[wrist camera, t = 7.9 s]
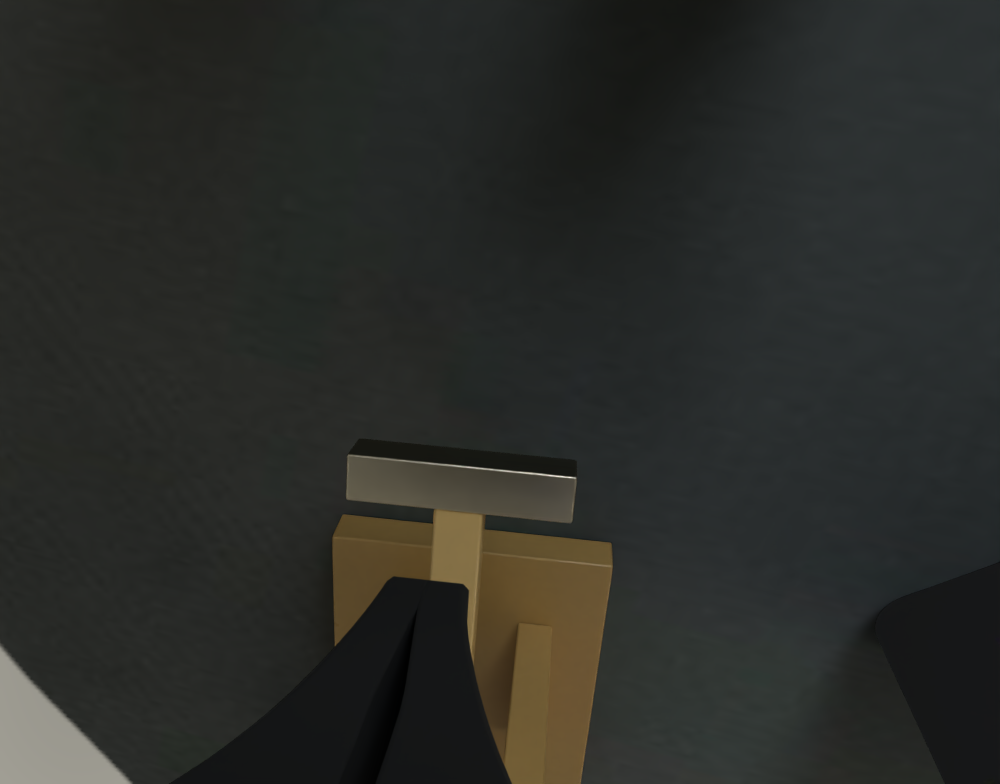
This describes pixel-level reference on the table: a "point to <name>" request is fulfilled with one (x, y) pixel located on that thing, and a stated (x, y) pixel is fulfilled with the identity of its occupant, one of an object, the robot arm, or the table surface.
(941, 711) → the nameplate
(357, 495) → the handle
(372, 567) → the wooden lever stand
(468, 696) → the robot arm
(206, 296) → the table surface
